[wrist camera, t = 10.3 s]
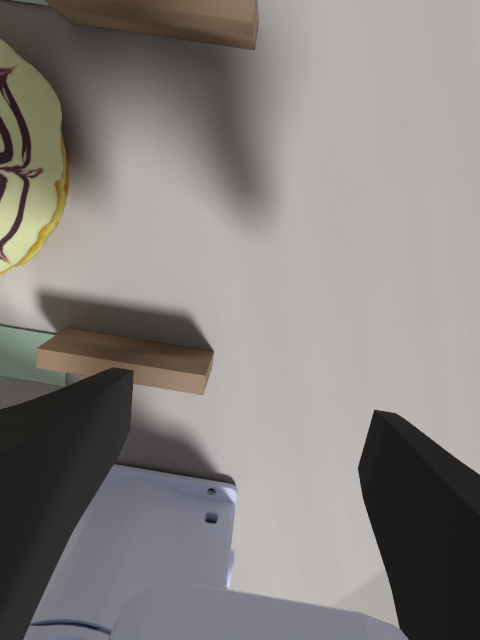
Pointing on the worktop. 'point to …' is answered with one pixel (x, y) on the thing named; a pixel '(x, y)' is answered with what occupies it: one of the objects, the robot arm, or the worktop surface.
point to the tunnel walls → (174, 22)
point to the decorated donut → (28, 160)
